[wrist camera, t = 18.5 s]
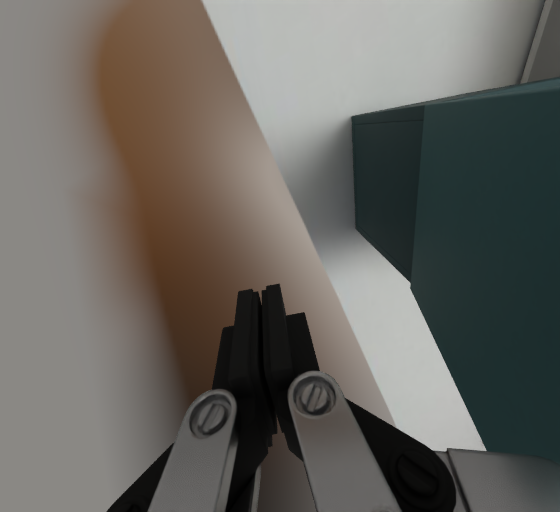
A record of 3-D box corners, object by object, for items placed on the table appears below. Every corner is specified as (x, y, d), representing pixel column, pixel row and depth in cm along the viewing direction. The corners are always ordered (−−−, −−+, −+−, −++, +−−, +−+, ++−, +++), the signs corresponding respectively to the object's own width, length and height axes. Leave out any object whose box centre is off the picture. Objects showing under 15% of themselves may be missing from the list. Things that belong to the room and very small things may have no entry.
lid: (1015, 23, 2) (878, 48, 2) (554, 536, 8) (524, 531, 8) (440, 101, 14) (424, 104, 14) (421, 287, 19) (409, 288, 20)
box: (471, 92, 26) (644, 61, 14) (453, 209, 31) (567, 254, 20) (351, 116, 26) (427, 104, 14) (355, 229, 31) (412, 285, 20)
